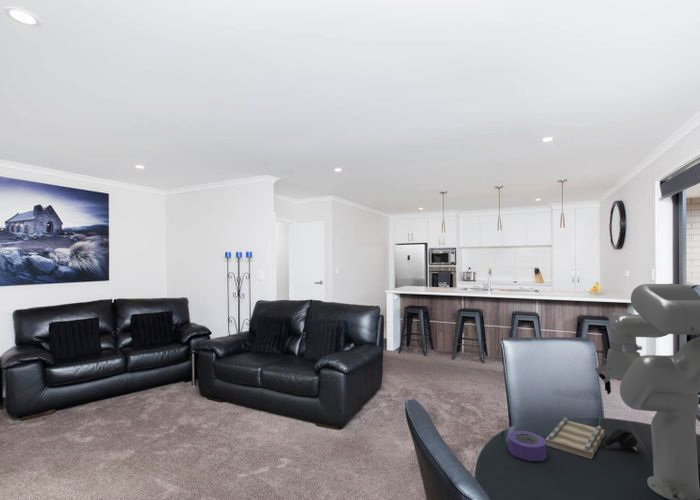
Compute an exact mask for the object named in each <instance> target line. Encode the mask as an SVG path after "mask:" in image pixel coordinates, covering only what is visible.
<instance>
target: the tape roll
mask: <svg viewBox="0 0 700 500" xmlns="http://www.w3.org/2000/svg"><path fill="white" fill-rule="evenodd" d="M507 436H508V437H507V440H508V441H507V442H508V452H509V451H510V452H511V453H512V454H513V455H515V456H517V457H520V458H522V459H526V460H530V461H529V462H532V461H539V462H543V461H545V460H546V459H547V446H546V441H545V439H546V438H544V437H542V436H541V435H538V434H536V433H534V432H530V431H525V430H516V431H515V430H514V431H511V432H510V433H508V435H507ZM510 452H509V453H510ZM511 453H510V454H511ZM512 454H511V455H512ZM513 455H512V456H513ZM515 456H514V457H515ZM517 457H516V458H517ZM522 459H521V460H522ZM544 459H545V460H544ZM526 460H525V461H526ZM542 460H543V461H542Z"/></svg>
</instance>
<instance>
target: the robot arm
mask: <svg viewBox="0 0 700 500" xmlns="http://www.w3.org/2000/svg"><path fill="white" fill-rule="evenodd" d="M630 295H631V296H630V304H631V305H632V306H631V307H632V308H633V310H634V311H635V312H636V313H637V314H632V313H631V312H623V311H613V312H610V313H609V315H608V329H609V345H610V347H609V348H608V351H607V355H606V364H604V365H600V366H597V367H595V368H594V370H595V371H596V374H597V375H598V377H599V378H600V379H601V380H602V381H603V382H604V391H606V394H607V395H610V394H611V393H612V387H611V384H612V383H611V381H610V380H611V379H614V380H620V384H619V393H620V397H621V400H622V402H623V403H624V404H625V405H626V406H627V407H628V408H631V409H633V410H636V411H645V412H656V413H655V414H654V415H653V417H652V420H651V422H650V423H651V425H650V429H651V430H650V431H651V433H650V434H651V449H652V467H653V468H652V469H653V475H651V476H649V477H648V478H647V486H648V487H649V488H650V490H651V491H653V492H654V493H656V494H657V495H659V496H660V497H663V498H664V499H667V500H700V480H699V467H698V466H699V463H698V449H697V448H698V447H697V445H698V444H697V430H696V425H697V421H696V420H697V413H698V409H699V401H700V399H699V398H700V397H699V394H698V393H700V294H699V292H697V291H696V290H695V289H693V288H692V287H690V286H688V285H685V284H679V283H645V284H644V283H643V284H641V285H638V286H636V287H635V288H634V289H633V290H632V292H631V294H630ZM668 335H683V336H698V337H694V338H692V339H691V340H688V341H687V342H685V343H683V345H682V346H681V347H680V348H679V350H678V351H677V352H676V353H675V354H671V355H660V354H659V355H657V354H656V355H655V354H654V355H653V354H645V355H641V353H640V352H639V351H642V350H643V348H642V347H643V346H641V345H638V343H637V338H654V339H655V338H656V339H659V338H663V337H666V336H668ZM604 370H606V375H605V374H603V372H602V371H604Z"/></svg>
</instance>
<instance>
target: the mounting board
mask: <svg viewBox="0 0 700 500" xmlns="http://www.w3.org/2000/svg"><path fill="white" fill-rule="evenodd" d="M605 435H606V433H605V429H604V428H603V429H602V426H600V425H597V426H596V427H594V426H592V425H591V426H590V425H587V424H583V423H579V422H574V421H571V420H569V418H566V417H563V418H562V420H561V421H560V422H559V423H558V424H557V425H556V427H555V428H554V429H553V430H552V431H551V432H550V433H549V435H547V437H546V438H544V439H545V441H546V445H547V446H546V447H549V446H550V448H554V449H557V450H559V451H560V450H561V451H563V452H566V453H570V454H573V455H576V456H580V457H583V458H587V459H589V460H592V459H594V455H595V453H596V452H597V451H598V448H600V447H599V446H600V445H601V443H602V440H603V439H604V438H605Z"/></svg>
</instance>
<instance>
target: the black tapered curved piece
mask: <svg viewBox="0 0 700 500" xmlns="http://www.w3.org/2000/svg"><path fill="white" fill-rule="evenodd" d="M615 443H618V445H619V446H620V447H621V448H623V449H626V450H627V449H629V450H630V449H633V450H634V452H637V451H638V449H637V448H636V445H637V444H638V440H637V437H636V436H635V435H634V433H632V431H630V430H628V429H620V428H617V429H616V430H615V431H613V432H612V433H611V434H610V435H609V436H608V438H606V440H605V441H604V444H603V445H601V446H600V447H599V448H600V450H603V449H604V448H606V447H607V446H609V447H610V446H612V445H614V444H615Z"/></svg>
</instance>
